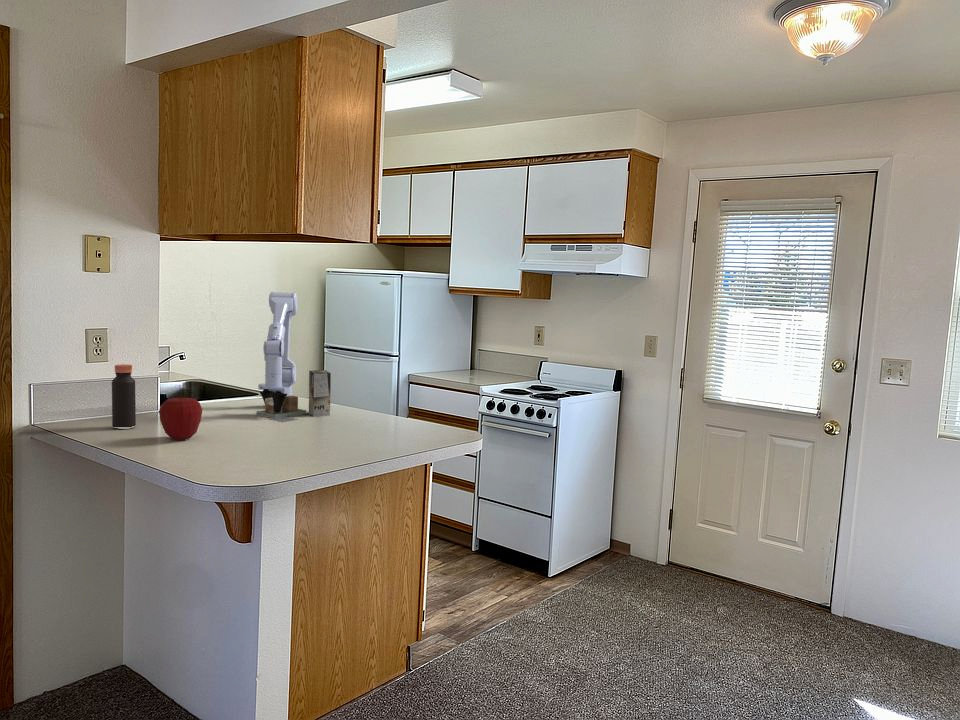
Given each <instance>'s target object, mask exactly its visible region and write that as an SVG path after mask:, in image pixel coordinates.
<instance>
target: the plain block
mask: <svg viewBox="0 0 960 720" xmlns="http://www.w3.org/2000/svg"><path fill="white" fill-rule="evenodd" d="M298 409H299V396H296V395H292V396H286V397H285V399H284V401H283V404H282V413H289V412H296V411H298Z"/></svg>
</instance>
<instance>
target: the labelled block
mask: <svg viewBox="0 0 960 720" xmlns="http://www.w3.org/2000/svg"><path fill="white" fill-rule="evenodd" d="M264 407H265V408H264V410H265V413H270V414H282V407H281V411H280V412H277V413H275V412H274V402H273V398H266V399H265V403H264Z"/></svg>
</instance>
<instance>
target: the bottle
mask: <svg viewBox="0 0 960 720" xmlns="http://www.w3.org/2000/svg"><path fill="white" fill-rule="evenodd" d="M132 372H133V366H132V364H126V363H125V364H115V365H114V374H115V377H114V378H113V379H112V380H111V427H112V426H113V427H132V426H135V425H136V426H137V424H136V423H137V417H136V414H137V412H136V379H134V378H133V377H132Z"/></svg>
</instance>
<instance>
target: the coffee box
mask: <svg viewBox="0 0 960 720" xmlns="http://www.w3.org/2000/svg"><path fill="white" fill-rule="evenodd" d="M331 375H332V373H331V372H330V371H328V370H325V369H324V370H323V369H321V370H308V414H309V415H311V416H312V417H330V416H331V392H332V391H331V386H332V385H331V381H332V380H331V378H332V377H331Z"/></svg>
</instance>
